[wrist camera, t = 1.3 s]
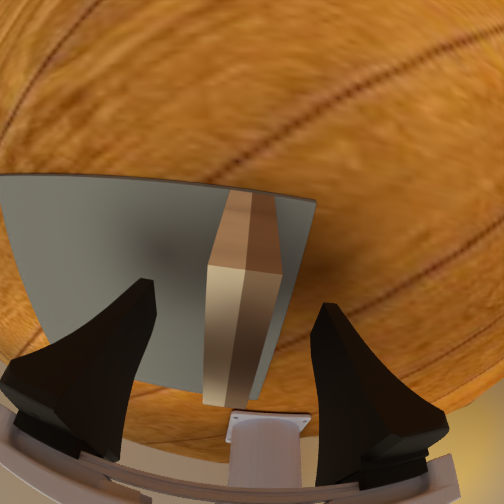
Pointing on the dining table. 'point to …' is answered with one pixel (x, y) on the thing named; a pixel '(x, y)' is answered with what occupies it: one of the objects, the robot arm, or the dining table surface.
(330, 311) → the robot arm
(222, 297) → the tile
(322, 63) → the dining table surface
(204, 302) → the mat
